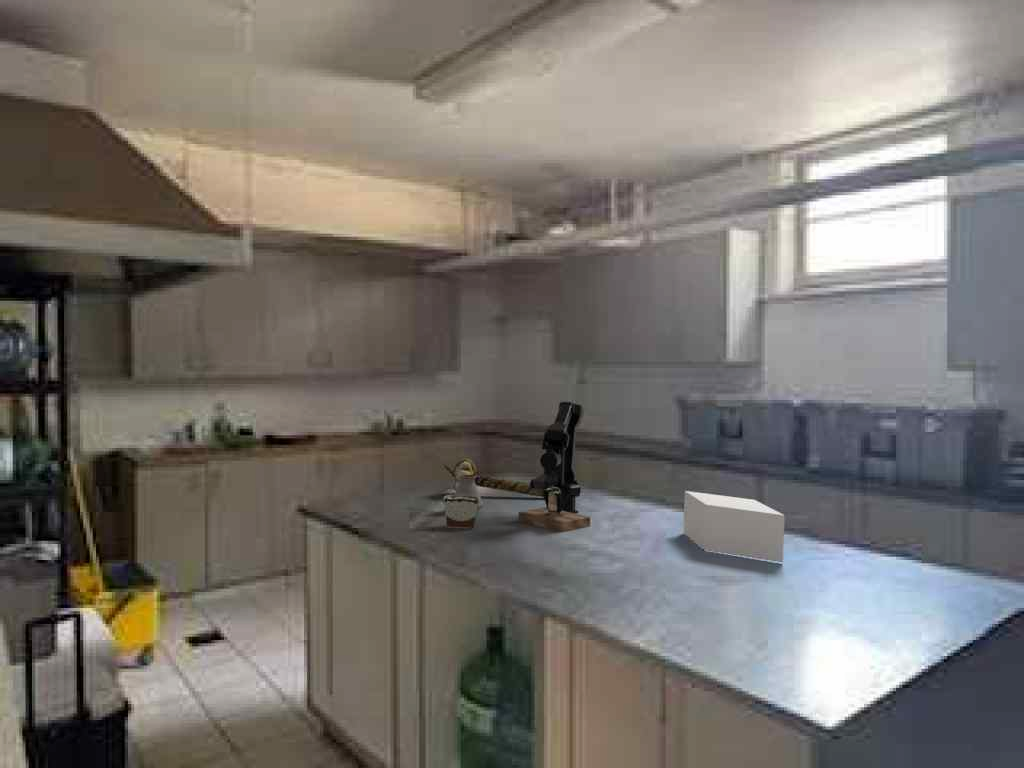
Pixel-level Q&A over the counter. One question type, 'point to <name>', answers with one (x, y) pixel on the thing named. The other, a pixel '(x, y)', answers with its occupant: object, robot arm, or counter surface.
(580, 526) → the walnut board
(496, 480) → the decorative mallet
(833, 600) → the counter surface
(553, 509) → the birch peg
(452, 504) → the food container
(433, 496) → the counter surface
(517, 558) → the counter surface
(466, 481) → the coffee pot
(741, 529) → the box
